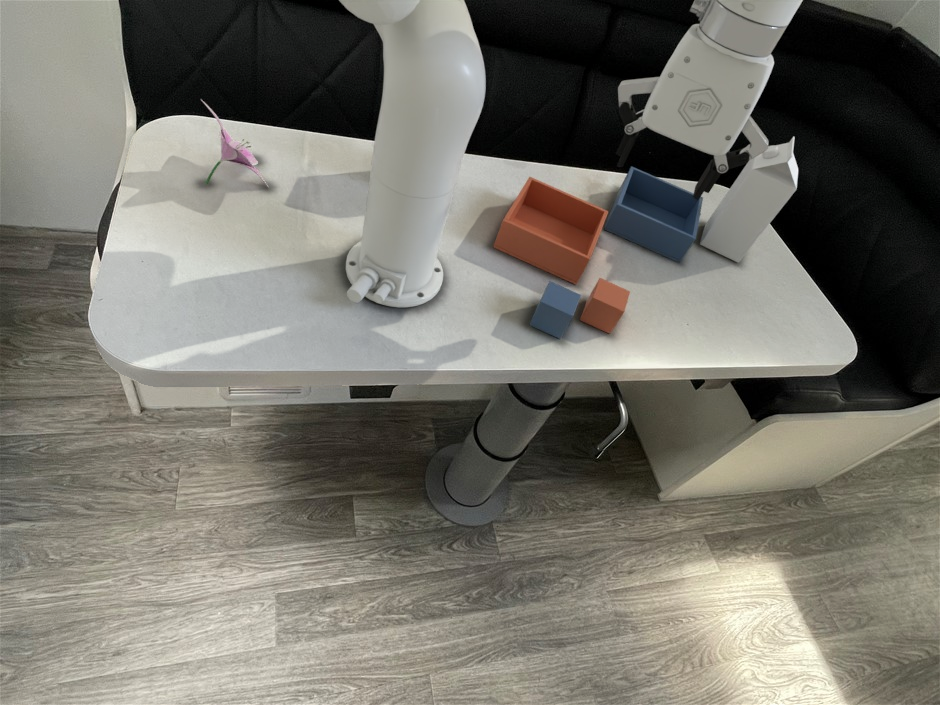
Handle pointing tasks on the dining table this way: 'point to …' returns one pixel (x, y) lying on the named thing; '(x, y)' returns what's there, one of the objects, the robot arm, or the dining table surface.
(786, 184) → the milk carton
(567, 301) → the slate block
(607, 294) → the terracotta block
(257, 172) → the lily
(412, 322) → the dining table surface
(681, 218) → the slate bin
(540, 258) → the terracotta bin
